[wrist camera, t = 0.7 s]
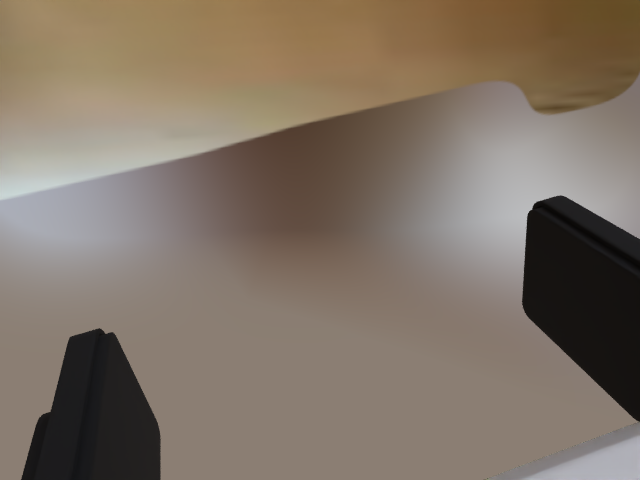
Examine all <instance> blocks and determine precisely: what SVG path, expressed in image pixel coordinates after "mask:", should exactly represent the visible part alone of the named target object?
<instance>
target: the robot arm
mask: <svg viewBox="0 0 640 480" xmlns="http://www.w3.org/2000/svg"><path fill="white" fill-rule="evenodd" d="M526 232H527V233H526V247H525V265H524V281H523V298H522V305H523V308H524V311H525V313H526V315H527V316H528V317H529V319H531V320H532V321H533V322H534V323H535V324H536V325H537V326H538V327H539V328H540V329H541V330H542V331H543V332H544V333H545V334H546V335H547V336H548V337H549V338H550V339H551V340H552V341H553V342H555V343H556V344H557V345H558V346H559V347H560V348H561V349H562V350H563V351H564V352H565V353H566V354H567V355H568V356H569V357H570V358H571V359H572V360H573V361H574V362H575V363H576V364H578V365H579V366H580V367H581V368H582V369H583V370H584V371H585V372H586V373H587V374H588V375H589V376H590V377H591V378H592V379H593V380H594V381H595V382H596V383H597V384H598V385H599V386H601V387H602V388H603V389H604V390H605V391H606V392H607V393H608V394H609V395H610V396H611V397H612V398H613V399H614V400H615V401H616V402H617V403H618V404H619V405H620V406H621V407H622V408H624V409H625V410H626V411H627V412H628V413H629V414H630V415H631V416H632V417H633V418H634V419H636V420H637V421H639V422H637V423H635V424H632V425H629V426H627V427H624V428H621V429H618V430H616V431H613V432H610V433H608V434H605V435H602V436H599V437H597V438H594V439H591V440H589V441H586V442H583V443H581V444H578V445H575V446H573V447H570V448H567V449H565V450H562V451H559V452H557V453H554V454H551V455H549V456H546V457H543V458H541V459H538V460H536V461H533V462H530V463H527V464H525V465H522V466H519V467H517V468H514V469H511V470H509V471H506V472H503V473H501V474H498V475H495V476H493V477H490V478H487V479H485V480H640V239H638V238H637V237H634V236H633V235H631V234H629V233H628V232H626V231H624V230H623V229H621V228H619V227H617V226H616V225H614V224H612V223H610V222H609V221H607V220H605V219H603V218H602V217H600V216H598V215H596V214H594V213H593V212H591V211H589V210H588V209H586V208H584V207H582V206H581V205H579V204H577V203H575V202H574V201H572V200H570V199H568V198H567V197H564V196H556V197H552V198H549V199H546V200H542V201H538V202H536V203H535V204H534V206H533V208H532V210H531V211H529V213H528V216H527V231H526ZM21 480H160V431H159V427H158V423H157V421H156V418H155V416H154V414H153V412H152V410H151V408H150V406H149V404H148V402H147V400H146V397H145V395H144V393H143V391H142V389H141V387H140V385H139V383H138V381H137V379H136V377H135V375H134V372H133V370H132V368H131V366H130V364H129V362H128V360H127V358H126V356H125V354H124V352H123V350H122V348H121V345H120V343H119V341H118V339H117V337H116V335H115V334H114V333H113V332H111V333H108V334H105V333H104V331H103V330H102V329H100V328H99V329H95V330H92V331H89V332H85V333H82V334H78V335H75V336H72V337H70V338H69V341H68V344H67V348H66V352H65V356H64V360H63V365H62V368H61V373H60V377H59V381H58V385H57V389H56V393H55V397H54V401H53V405H52V409H51V412H49V413H46V414H43V415H42V416H41V417H40V418H39V420H38V422H37V424H36V428H35V431H34V435H33V438H32V442H31V446H30V450H29V453H28V457H27V461H26V464H25V468H24V471H23V475H22V479H21Z"/></svg>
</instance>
